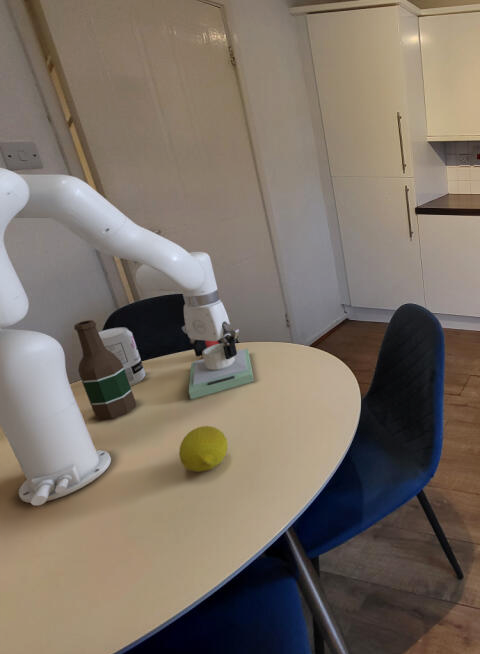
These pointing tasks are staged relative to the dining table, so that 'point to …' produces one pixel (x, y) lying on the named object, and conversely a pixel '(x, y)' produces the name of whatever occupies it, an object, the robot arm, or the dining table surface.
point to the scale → (220, 376)
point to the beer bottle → (103, 375)
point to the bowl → (216, 357)
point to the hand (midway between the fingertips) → (216, 355)
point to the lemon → (203, 449)
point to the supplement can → (124, 352)
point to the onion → (211, 343)
